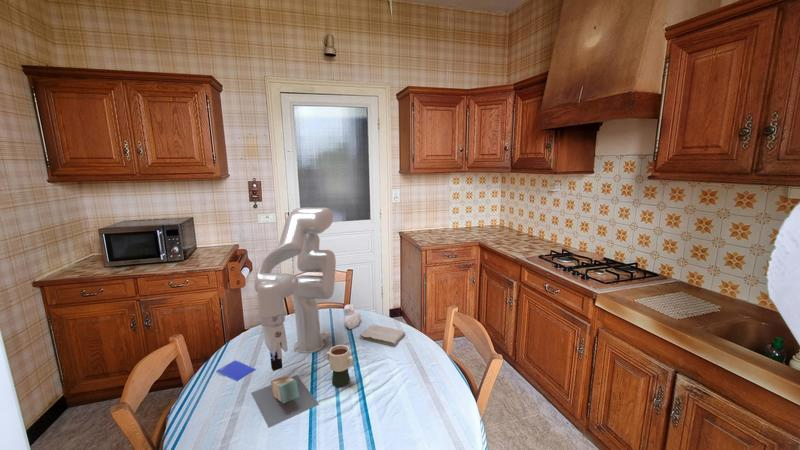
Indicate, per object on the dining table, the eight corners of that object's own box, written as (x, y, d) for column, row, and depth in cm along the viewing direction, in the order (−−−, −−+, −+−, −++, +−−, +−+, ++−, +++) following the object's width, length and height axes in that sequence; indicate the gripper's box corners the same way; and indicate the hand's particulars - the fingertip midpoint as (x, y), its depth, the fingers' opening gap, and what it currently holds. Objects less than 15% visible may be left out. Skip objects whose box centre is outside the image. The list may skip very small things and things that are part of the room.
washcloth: (371, 328, 163) (371, 322, 163) (405, 335, 156) (405, 329, 155) (358, 340, 153) (358, 333, 152) (394, 348, 145) (394, 341, 145)
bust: (358, 323, 172) (345, 305, 173) (368, 317, 169) (355, 298, 170) (345, 334, 161) (331, 314, 162) (355, 328, 158) (342, 307, 159)
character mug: (359, 381, 123) (358, 347, 121) (349, 393, 117) (347, 358, 114) (334, 374, 127) (332, 342, 125) (322, 385, 121) (320, 352, 119)
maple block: (285, 375, 119) (296, 380, 109) (288, 389, 118) (299, 396, 109) (270, 380, 116) (280, 386, 106) (273, 396, 115) (283, 403, 106)
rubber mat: (296, 376, 127) (296, 374, 126) (319, 406, 111) (319, 404, 111) (251, 394, 117) (251, 392, 117) (268, 429, 101) (268, 427, 101)
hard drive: (216, 370, 129) (236, 380, 123) (235, 359, 136) (256, 368, 130) (216, 374, 130) (237, 384, 124) (236, 363, 137) (256, 372, 131)
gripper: (291, 322, 109) (295, 374, 112) (276, 307, 121) (281, 355, 124) (267, 329, 105) (272, 383, 108) (254, 313, 117) (259, 362, 120)
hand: (277, 368), depth 116 cm, fingers closed
